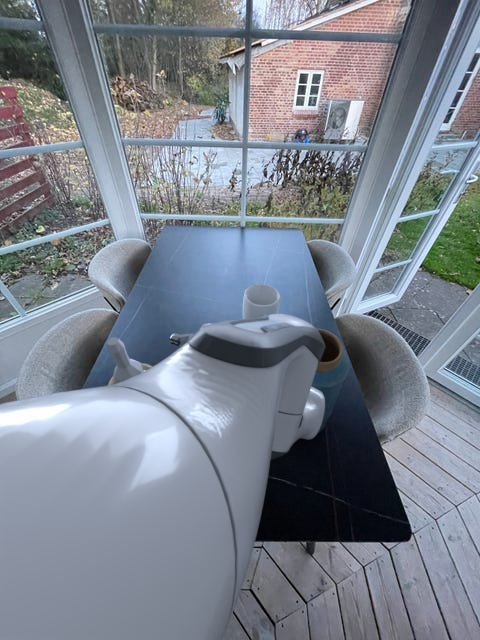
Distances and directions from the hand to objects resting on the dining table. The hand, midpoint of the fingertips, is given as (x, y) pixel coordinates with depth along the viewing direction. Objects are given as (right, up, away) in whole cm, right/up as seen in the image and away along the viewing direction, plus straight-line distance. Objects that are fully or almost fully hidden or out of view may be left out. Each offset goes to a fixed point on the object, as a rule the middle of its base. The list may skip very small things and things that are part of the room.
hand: (157, 355), depth 49 cm
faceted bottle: (-12, -13, +24) cm, 30 cm away
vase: (+30, -17, +22) cm, 41 cm away
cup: (+21, -2, +37) cm, 42 cm away
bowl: (-13, -14, +24) cm, 30 cm away
